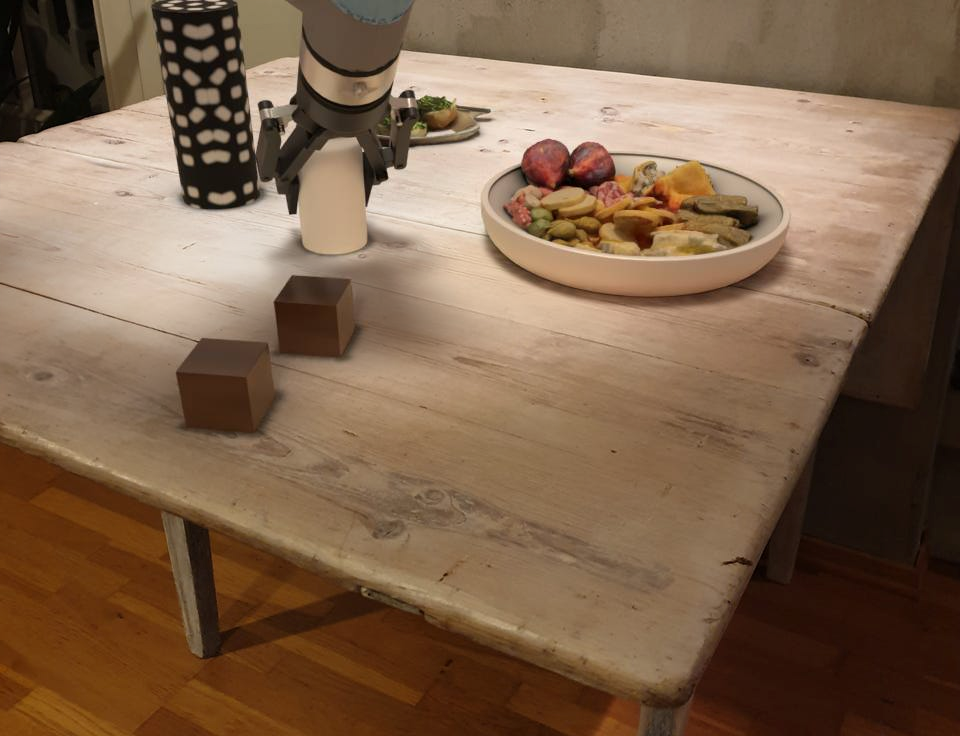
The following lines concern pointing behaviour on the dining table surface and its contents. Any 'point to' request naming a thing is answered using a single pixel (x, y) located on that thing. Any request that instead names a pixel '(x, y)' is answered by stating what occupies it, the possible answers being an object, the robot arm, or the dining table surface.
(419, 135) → the salad plate
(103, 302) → the dining table surface
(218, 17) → the spotted tube
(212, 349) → the near block
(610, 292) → the bowl
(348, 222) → the can
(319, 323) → the far block
